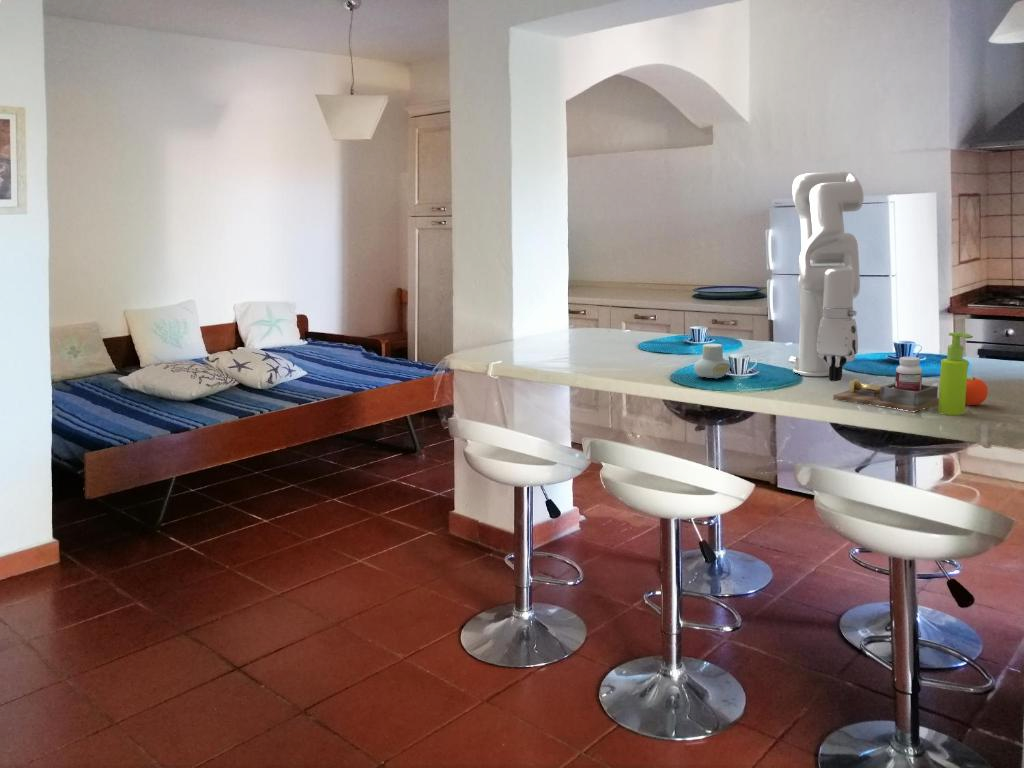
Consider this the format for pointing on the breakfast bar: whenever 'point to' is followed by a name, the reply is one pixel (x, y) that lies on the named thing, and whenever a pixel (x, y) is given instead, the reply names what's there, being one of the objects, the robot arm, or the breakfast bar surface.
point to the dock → (894, 397)
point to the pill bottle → (909, 374)
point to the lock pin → (863, 386)
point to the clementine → (975, 391)
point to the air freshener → (712, 362)
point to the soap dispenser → (953, 378)
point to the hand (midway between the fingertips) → (835, 380)
